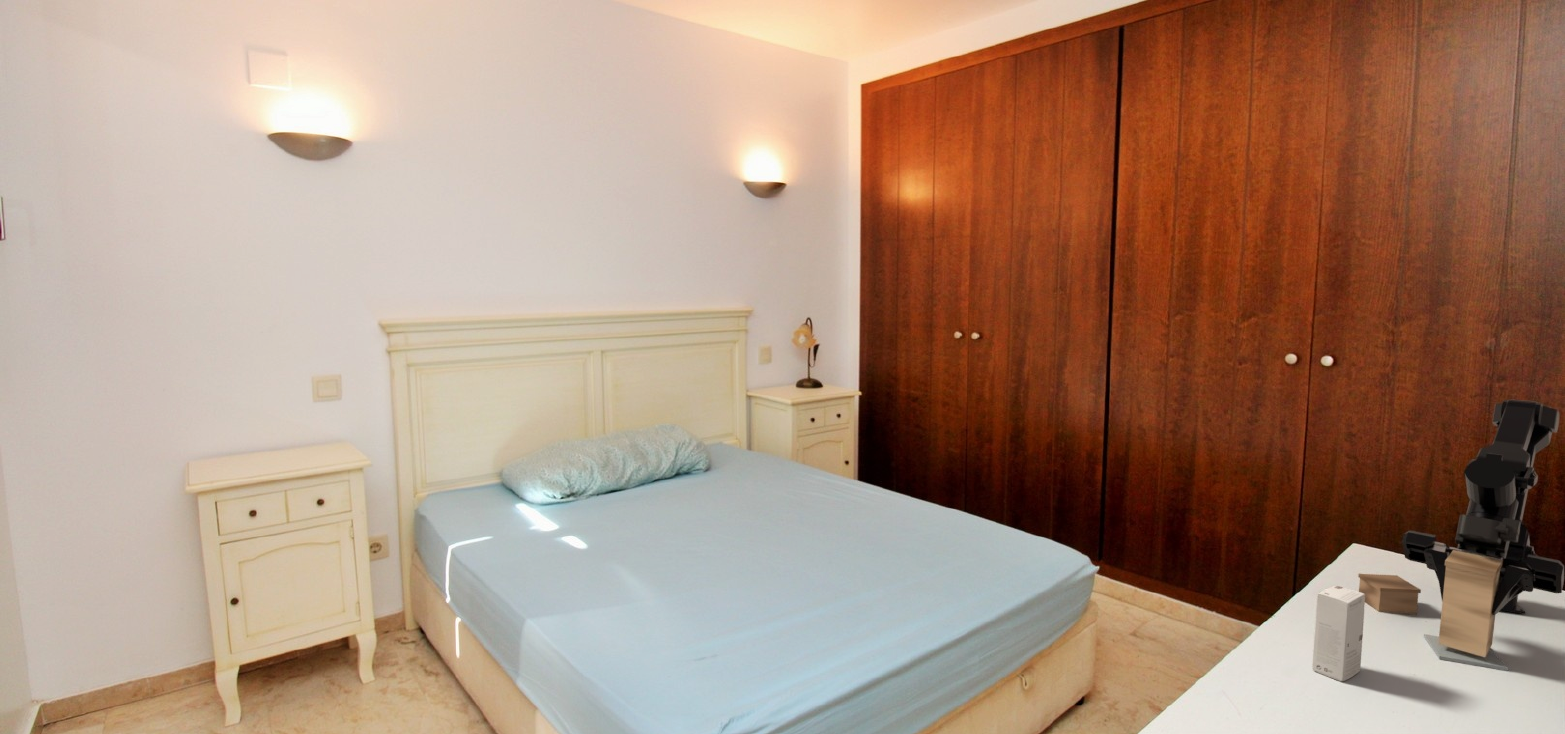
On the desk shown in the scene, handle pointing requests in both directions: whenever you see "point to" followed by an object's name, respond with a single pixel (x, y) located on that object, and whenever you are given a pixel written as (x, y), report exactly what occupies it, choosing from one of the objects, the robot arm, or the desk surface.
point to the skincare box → (1338, 633)
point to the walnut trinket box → (1389, 593)
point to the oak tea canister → (1469, 602)
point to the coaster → (1464, 655)
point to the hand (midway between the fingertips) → (1467, 607)
